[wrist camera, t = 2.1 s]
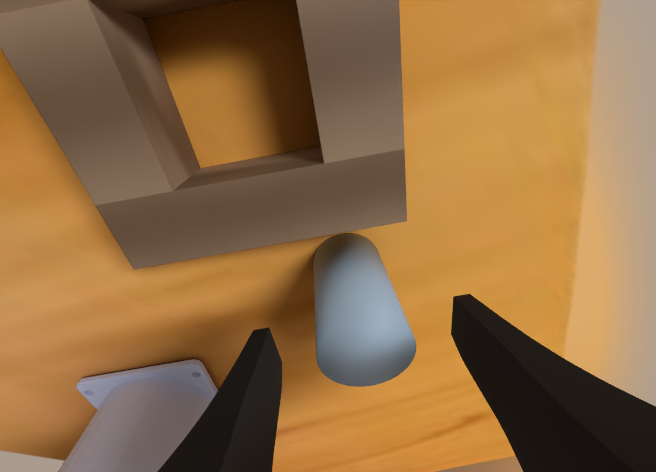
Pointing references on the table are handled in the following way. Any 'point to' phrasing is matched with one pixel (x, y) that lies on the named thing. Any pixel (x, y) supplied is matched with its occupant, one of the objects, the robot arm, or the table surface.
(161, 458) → the robot arm
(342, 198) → the socket block
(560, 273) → the table surface
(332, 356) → the peg
